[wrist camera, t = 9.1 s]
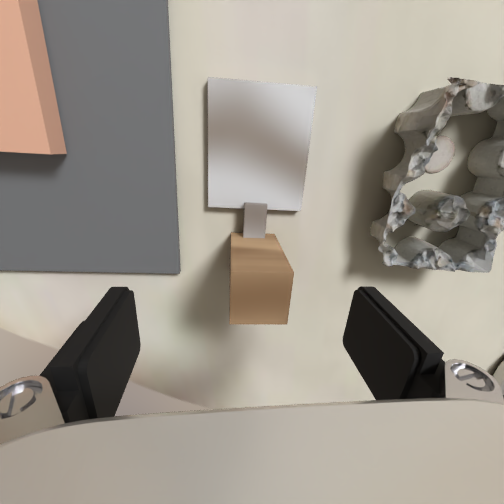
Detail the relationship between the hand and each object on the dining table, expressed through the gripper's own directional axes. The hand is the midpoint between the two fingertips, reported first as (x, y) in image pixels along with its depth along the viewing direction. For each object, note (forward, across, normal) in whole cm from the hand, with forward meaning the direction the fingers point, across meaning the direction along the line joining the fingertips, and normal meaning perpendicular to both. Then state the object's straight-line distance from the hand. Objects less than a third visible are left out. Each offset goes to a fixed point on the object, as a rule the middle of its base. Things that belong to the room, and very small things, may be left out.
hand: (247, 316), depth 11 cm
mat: (+8, +12, -6) cm, 16 cm away
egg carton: (+8, -13, -5) cm, 16 cm away
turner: (+8, -1, -4) cm, 9 cm away
